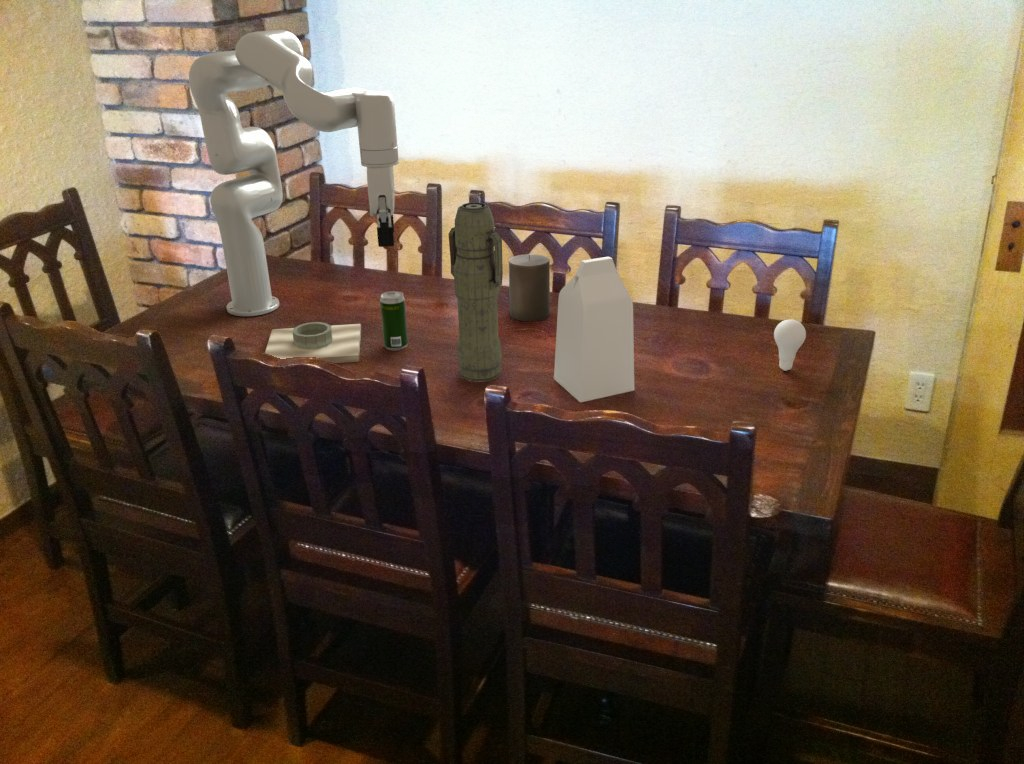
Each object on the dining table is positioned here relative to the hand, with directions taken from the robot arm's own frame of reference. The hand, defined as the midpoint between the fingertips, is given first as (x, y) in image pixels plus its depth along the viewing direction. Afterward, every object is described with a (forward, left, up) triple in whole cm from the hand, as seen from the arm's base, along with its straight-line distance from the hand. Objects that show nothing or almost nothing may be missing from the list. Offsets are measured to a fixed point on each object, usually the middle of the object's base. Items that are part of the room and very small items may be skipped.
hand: (386, 239), depth 181 cm
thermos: (+17, +17, -25) cm, 34 cm away
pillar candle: (-14, +32, -25) cm, 43 cm away
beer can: (0, 0, -25) cm, 25 cm away
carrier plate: (-2, -18, -25) cm, 30 cm away
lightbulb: (+26, +79, -25) cm, 87 cm away
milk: (+26, +39, -25) cm, 53 cm away
